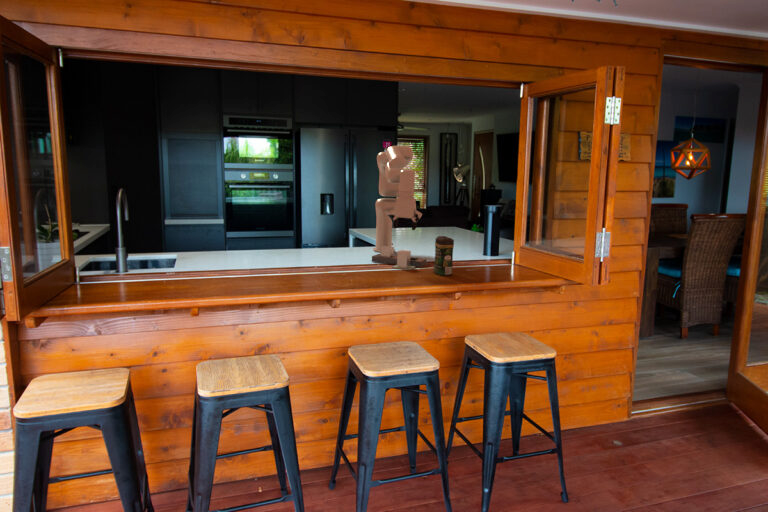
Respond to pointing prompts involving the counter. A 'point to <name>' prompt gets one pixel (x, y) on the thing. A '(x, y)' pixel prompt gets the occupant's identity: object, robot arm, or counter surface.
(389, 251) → the brown wooden block
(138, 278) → the counter surface
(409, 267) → the mat
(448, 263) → the coffee jar
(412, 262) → the board with square holes
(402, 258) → the pale pink rectangular block
